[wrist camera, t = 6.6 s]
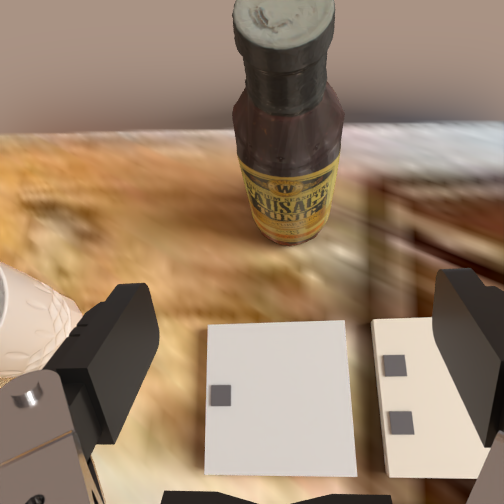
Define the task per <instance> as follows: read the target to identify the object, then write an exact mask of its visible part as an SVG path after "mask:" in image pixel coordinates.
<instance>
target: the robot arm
mask: <svg viewBox="0 0 504 504" xmlns="http://www.w3.org/2000/svg"><path fill="white" fill-rule="evenodd" d="M432 330H433V336H434V340H435V343H436V345H437V347H438V349H439V352H440V354H441V356H442V358H443V360H444V362H445V364H446V367H447V369H448V371H449V373H450V375H451V377H452V380H453V382H454V384H455V386H456V388H457V390H458V392H459V395H460V397H461V399H462V401H463V403H464V405H465V407H466V410H467V412H468V414H469V416H470V418H471V420H472V423H473V425H474V427H475V429H476V431H477V433H478V435H479V438H480V440H481V442H482V444H483V446H484V448H491V449H490V451H489V453H488V455H487V458H486V460H485V462H484V465H483V467H482V469H481V471H480V474H479V476H478V478H477V480H476V483H475V485H474V487H473V490H472V492H471V494H470V496H469V499H468V501H467V503H466V504H504V291H502V290H501V289H499V288H497V287H495V286H485V285H484V284H483V282H482V281H481V280H480V279H479V277H478V276H477V275H476V273H475V272H474V271H473V270H472V269H471V268H461V269H440V270H439V271H438V272H437V276H436V283H435V294H434V304H433V315H432ZM158 345H159V327H158V323H157V319H156V315H155V311H154V307H153V303H152V299H151V295H150V291H149V288H148V286H147V285H146V284H145V283H130V284H118V285H117V286H116V287H115V289H114V290H113V291H112V293H111V294H110V295H109V297H108V298H107V299H106V301H105V302H100V303H99V304H97V305H96V306H94V307H93V308H92V309H90V310H89V311H87V312H86V313H85V314H84V316H83V317H82V318H81V319H80V321H79V322H78V323H77V326H76V327H74V328H73V330H72V331H71V332H70V334H69V337H66V339H65V340H64V341H63V343H62V344H61V345H60V347H59V348H58V349H57V350H56V352H55V353H54V354H53V356H52V357H51V358H50V359H49V361H48V362H47V363H46V365H45V366H44V367H43V368H42V370H36V371H32V372H28V373H25V374H23V375H20V376H18V377H16V378H15V379H13V380H11V381H10V382H8V383H7V384H5V385H4V386H3V387H2V388H1V389H0V504H106V501H105V498H104V494H103V491H102V488H101V484H100V481H99V478H98V474H97V471H96V468H95V464H94V461H93V459H92V456H91V453H92V451H93V449H94V447H95V445H96V444H115V442H116V440H117V438H118V436H119V434H120V431H121V429H122V427H123V425H124V422H125V420H126V418H127V416H128V414H129V411H130V409H131V407H132V405H133V402H134V400H135V398H136V396H137V394H138V391H139V389H140V387H141V385H142V382H143V380H144V378H145V376H146V374H147V371H148V369H149V367H150V365H151V362H152V360H153V358H154V356H155V354H156V351H157V349H158ZM161 504H257V503H254V502H250V501H247V500H243V499H240V498H237V497H233V496H230V495H226V494H223V493H220V492H205V491H164V494H163V497H162V500H161ZM292 504H392V500H391V495H358V494H330V495H326V496H321V497H317V498H313V499H309V500H305V501H300V502H296V503H292Z"/></svg>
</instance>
